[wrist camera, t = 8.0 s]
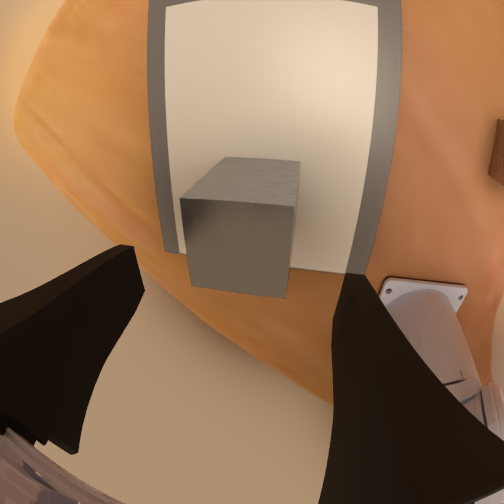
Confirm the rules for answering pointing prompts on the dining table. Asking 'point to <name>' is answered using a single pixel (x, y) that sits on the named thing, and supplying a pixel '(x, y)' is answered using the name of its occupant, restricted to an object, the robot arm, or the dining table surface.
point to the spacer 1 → (242, 225)
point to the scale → (280, 109)
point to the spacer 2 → (498, 154)
